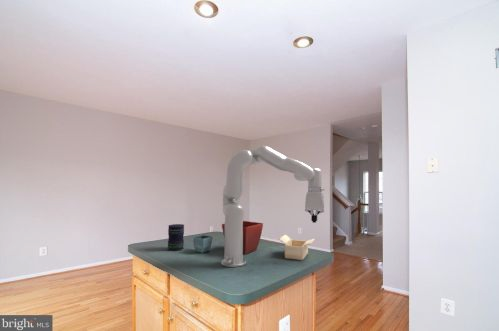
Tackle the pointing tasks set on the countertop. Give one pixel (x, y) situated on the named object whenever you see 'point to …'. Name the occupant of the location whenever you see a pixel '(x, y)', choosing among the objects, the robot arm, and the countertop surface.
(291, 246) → the carton
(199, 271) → the countertop surface
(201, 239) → the flower pot
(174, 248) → the storage jar
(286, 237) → the flap left
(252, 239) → the plant pot
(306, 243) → the flap right
